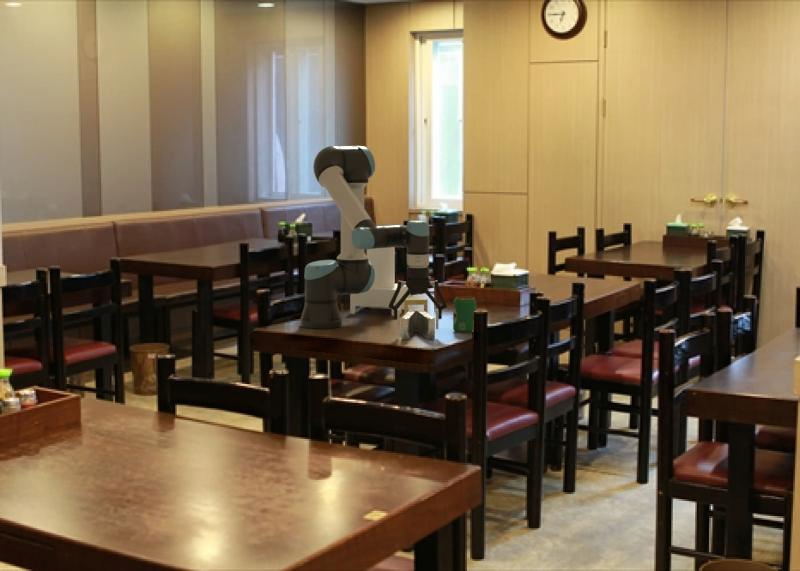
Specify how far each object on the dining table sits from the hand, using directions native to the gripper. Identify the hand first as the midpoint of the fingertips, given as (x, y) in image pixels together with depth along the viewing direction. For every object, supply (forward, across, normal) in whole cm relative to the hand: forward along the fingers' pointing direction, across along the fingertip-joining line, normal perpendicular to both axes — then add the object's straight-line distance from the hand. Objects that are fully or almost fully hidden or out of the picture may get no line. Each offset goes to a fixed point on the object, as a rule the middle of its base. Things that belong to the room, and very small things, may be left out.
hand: (417, 328), depth 390 cm
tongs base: (+3, 0, +16) cm, 17 cm away
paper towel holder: (+3, -12, +60) cm, 61 cm away
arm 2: (+3, +3, +4) cm, 6 cm away
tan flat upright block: (+3, 0, +17) cm, 17 cm away
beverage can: (+3, +17, +12) cm, 21 cm away
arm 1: (+3, -3, +4) cm, 6 cm away
